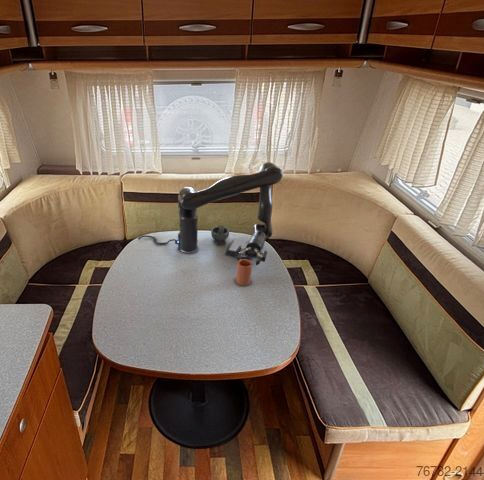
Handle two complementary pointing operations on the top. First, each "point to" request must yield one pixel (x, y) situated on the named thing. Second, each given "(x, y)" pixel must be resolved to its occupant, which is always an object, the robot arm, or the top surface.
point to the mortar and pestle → (220, 234)
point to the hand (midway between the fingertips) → (247, 261)
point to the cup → (244, 272)
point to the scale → (234, 246)
